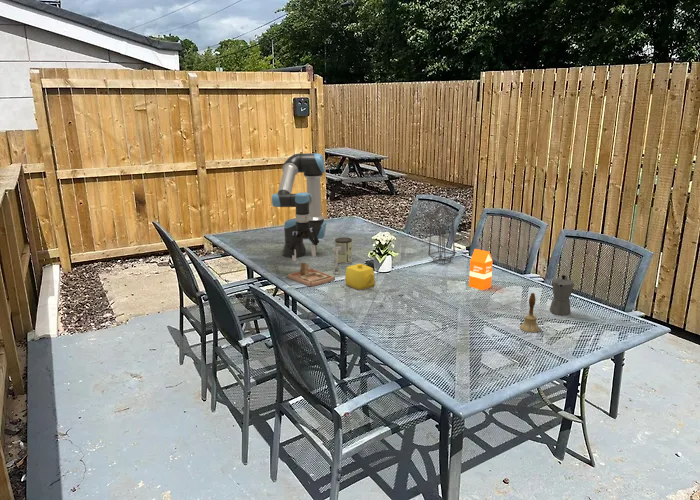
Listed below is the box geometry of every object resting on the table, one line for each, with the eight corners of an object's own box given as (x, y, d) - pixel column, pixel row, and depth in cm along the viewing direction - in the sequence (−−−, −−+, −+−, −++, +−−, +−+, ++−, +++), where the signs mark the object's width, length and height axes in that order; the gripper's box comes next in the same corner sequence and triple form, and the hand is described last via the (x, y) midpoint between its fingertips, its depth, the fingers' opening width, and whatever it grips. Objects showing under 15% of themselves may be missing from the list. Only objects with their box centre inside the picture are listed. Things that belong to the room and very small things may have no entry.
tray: (287, 277, 299) (287, 274, 299) (311, 271, 310) (311, 268, 309) (310, 286, 283) (310, 283, 283) (334, 280, 294) (334, 276, 294)
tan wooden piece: (293, 276, 299) (292, 264, 297) (310, 272, 307) (309, 260, 305) (311, 284, 287) (311, 271, 285) (329, 279, 294) (328, 267, 292)
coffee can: (336, 258, 335) (336, 237, 331) (352, 259, 334) (352, 237, 330) (334, 263, 325) (334, 241, 322) (351, 263, 324) (351, 241, 321)
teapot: (381, 288, 281) (382, 266, 278) (363, 293, 274) (363, 271, 271) (358, 278, 297) (358, 258, 293) (340, 283, 289) (340, 262, 286)
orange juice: (476, 283, 288) (478, 247, 282) (491, 286, 281) (493, 250, 276) (468, 286, 282) (470, 250, 277) (483, 290, 276) (485, 253, 271)
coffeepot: (568, 319, 238) (573, 280, 234) (546, 315, 243) (550, 277, 238) (573, 307, 252) (577, 271, 247) (552, 304, 256) (555, 268, 251)
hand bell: (516, 325, 232) (519, 290, 228) (535, 324, 233) (538, 290, 229) (524, 333, 224) (527, 297, 220) (543, 332, 225) (546, 296, 221)
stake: (330, 273, 306) (330, 247, 302) (338, 271, 309) (337, 246, 305) (335, 275, 303) (334, 249, 299) (342, 273, 306) (342, 247, 302)
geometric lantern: (443, 267, 316) (444, 209, 307) (423, 262, 328) (423, 206, 319) (460, 261, 326) (461, 205, 317) (439, 257, 338) (440, 202, 329)
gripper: (288, 226, 282) (289, 264, 288) (324, 218, 298) (325, 255, 304) (280, 223, 287) (281, 261, 293) (316, 216, 303) (317, 252, 309)
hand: (304, 258), depth 299 cm, fingers open, 13 cm apart
